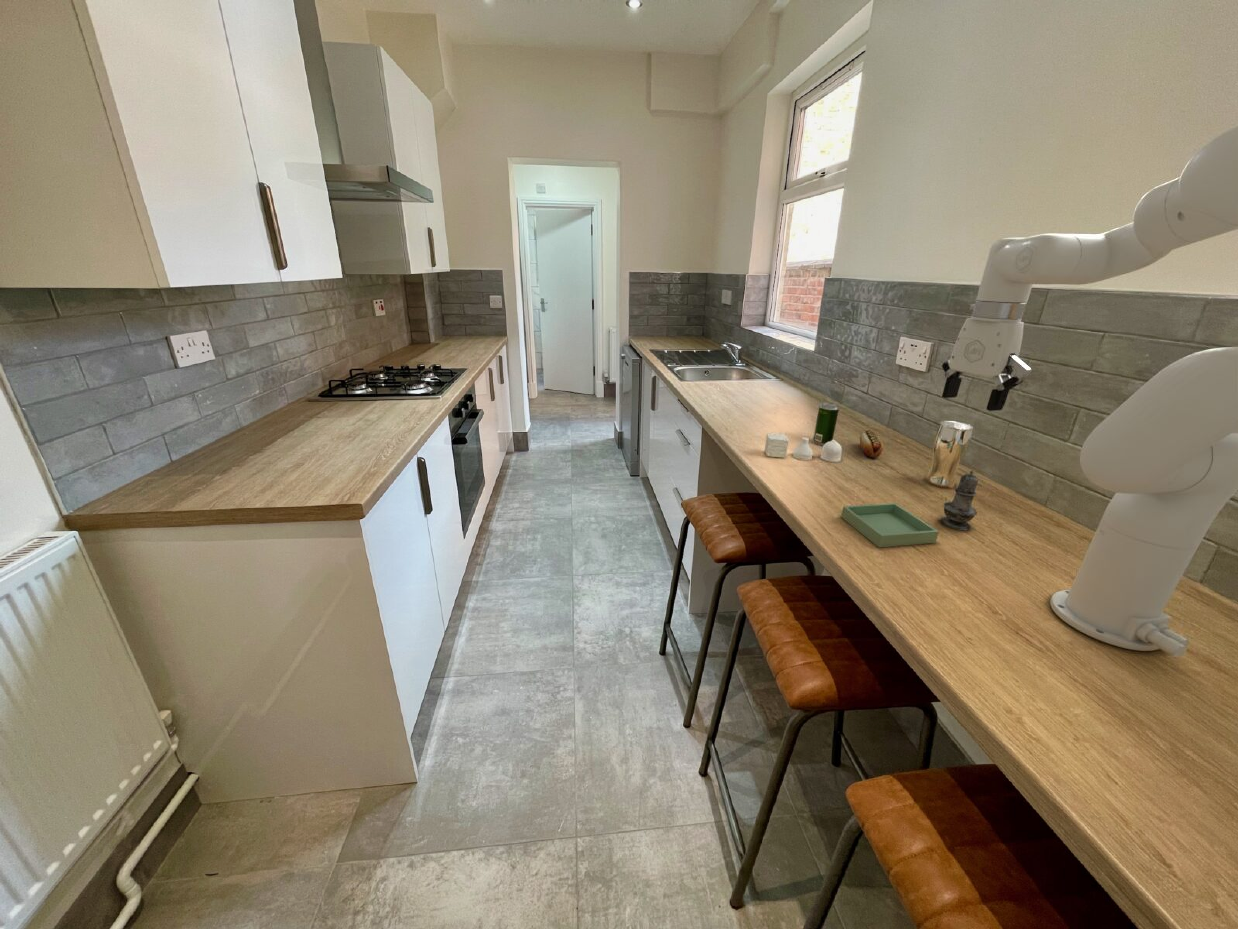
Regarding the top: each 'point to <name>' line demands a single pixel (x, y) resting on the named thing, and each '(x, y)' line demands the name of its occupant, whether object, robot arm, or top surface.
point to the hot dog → (871, 443)
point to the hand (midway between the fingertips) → (970, 403)
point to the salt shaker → (961, 504)
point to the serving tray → (889, 525)
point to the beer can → (825, 423)
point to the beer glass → (948, 452)
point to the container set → (801, 448)
